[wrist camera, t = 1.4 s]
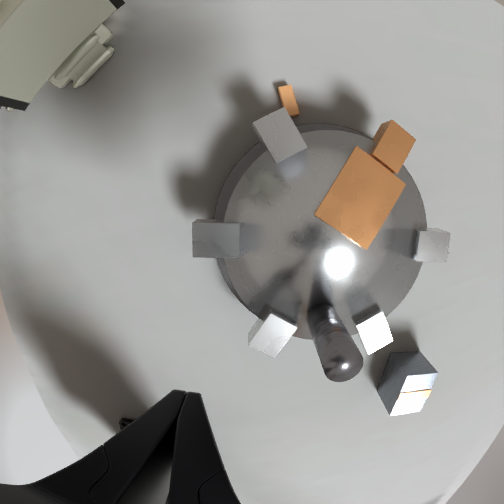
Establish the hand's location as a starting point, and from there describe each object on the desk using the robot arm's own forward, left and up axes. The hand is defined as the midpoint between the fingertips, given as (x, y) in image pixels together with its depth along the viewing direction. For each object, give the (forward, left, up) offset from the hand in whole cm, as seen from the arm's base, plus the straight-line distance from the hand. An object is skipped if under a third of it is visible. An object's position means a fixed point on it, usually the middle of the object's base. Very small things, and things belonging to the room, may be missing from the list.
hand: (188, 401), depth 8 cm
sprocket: (+4, -6, -11) cm, 13 cm away
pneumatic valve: (+16, +12, -12) cm, 23 cm away
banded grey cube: (-7, -15, -12) cm, 20 cm away
